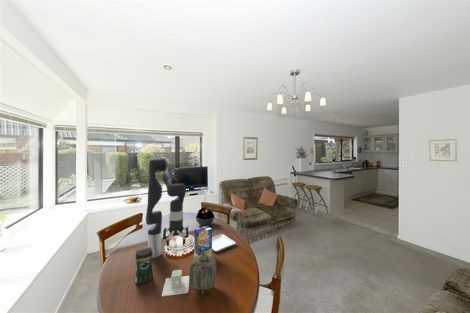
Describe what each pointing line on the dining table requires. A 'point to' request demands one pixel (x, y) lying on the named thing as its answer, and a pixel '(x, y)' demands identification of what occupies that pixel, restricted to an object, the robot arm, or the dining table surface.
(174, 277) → the cube with two prongs
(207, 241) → the beverage box
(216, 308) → the dining table surface
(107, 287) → the dining table surface
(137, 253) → the coffee jar
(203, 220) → the coal bowl
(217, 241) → the salad plate
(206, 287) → the tabletop clock
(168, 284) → the mat
